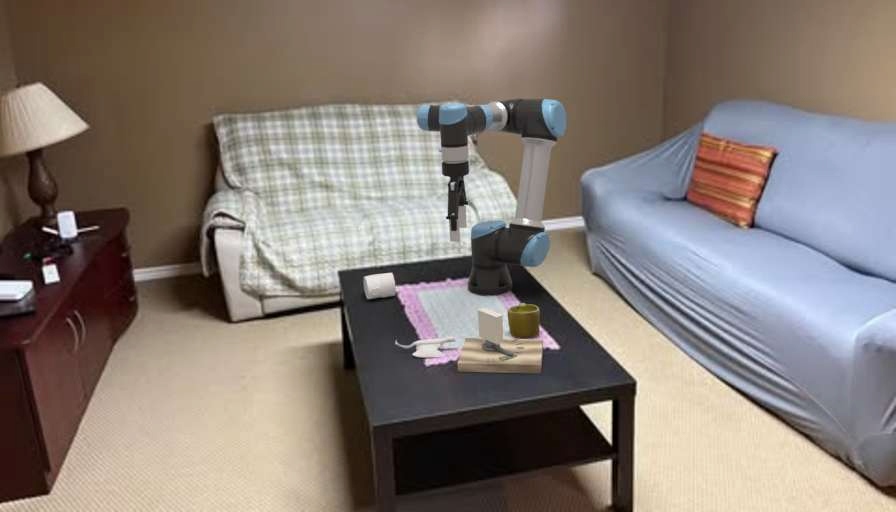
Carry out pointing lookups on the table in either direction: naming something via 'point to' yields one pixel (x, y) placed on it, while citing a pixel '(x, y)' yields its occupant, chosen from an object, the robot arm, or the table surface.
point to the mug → (524, 320)
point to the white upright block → (491, 330)
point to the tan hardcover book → (502, 356)
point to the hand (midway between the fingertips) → (458, 234)
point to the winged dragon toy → (428, 347)
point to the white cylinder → (379, 285)
